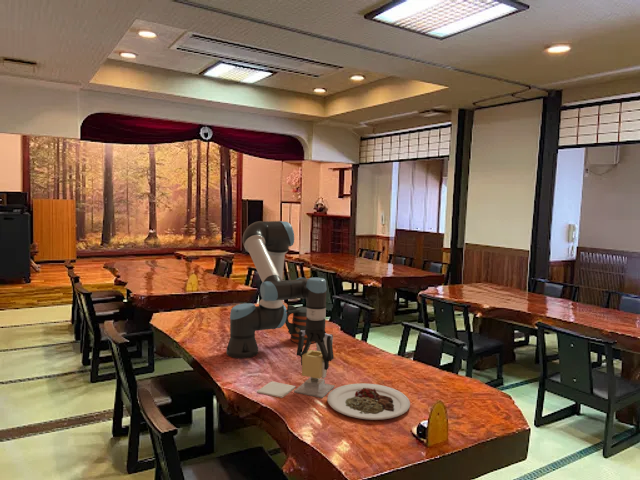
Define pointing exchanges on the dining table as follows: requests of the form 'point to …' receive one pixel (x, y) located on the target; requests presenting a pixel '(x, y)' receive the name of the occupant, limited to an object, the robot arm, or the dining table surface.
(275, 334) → the dining table surface
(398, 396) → the plated food
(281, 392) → the felt mat
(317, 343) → the cup
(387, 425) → the dining table surface
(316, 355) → the yellow square planter
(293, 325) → the beer stein
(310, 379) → the post stand
